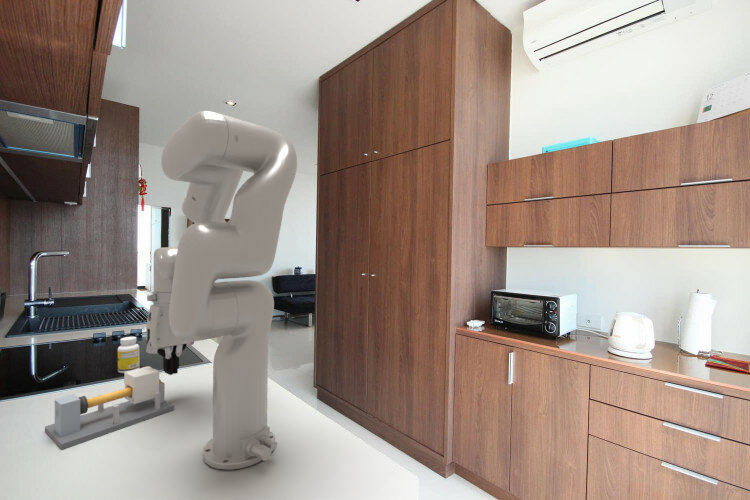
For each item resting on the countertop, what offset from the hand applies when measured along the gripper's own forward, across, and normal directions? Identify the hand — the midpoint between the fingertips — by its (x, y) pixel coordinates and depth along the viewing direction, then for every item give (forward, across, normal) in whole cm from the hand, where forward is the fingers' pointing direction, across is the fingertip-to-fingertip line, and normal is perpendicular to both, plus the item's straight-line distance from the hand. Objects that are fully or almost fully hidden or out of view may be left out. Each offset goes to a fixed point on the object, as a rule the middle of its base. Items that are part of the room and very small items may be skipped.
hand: (171, 372), depth 87 cm
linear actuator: (+7, -12, 0) cm, 14 cm away
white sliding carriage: (+4, -6, 0) cm, 7 cm away
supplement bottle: (+7, +2, +32) cm, 33 cm away
